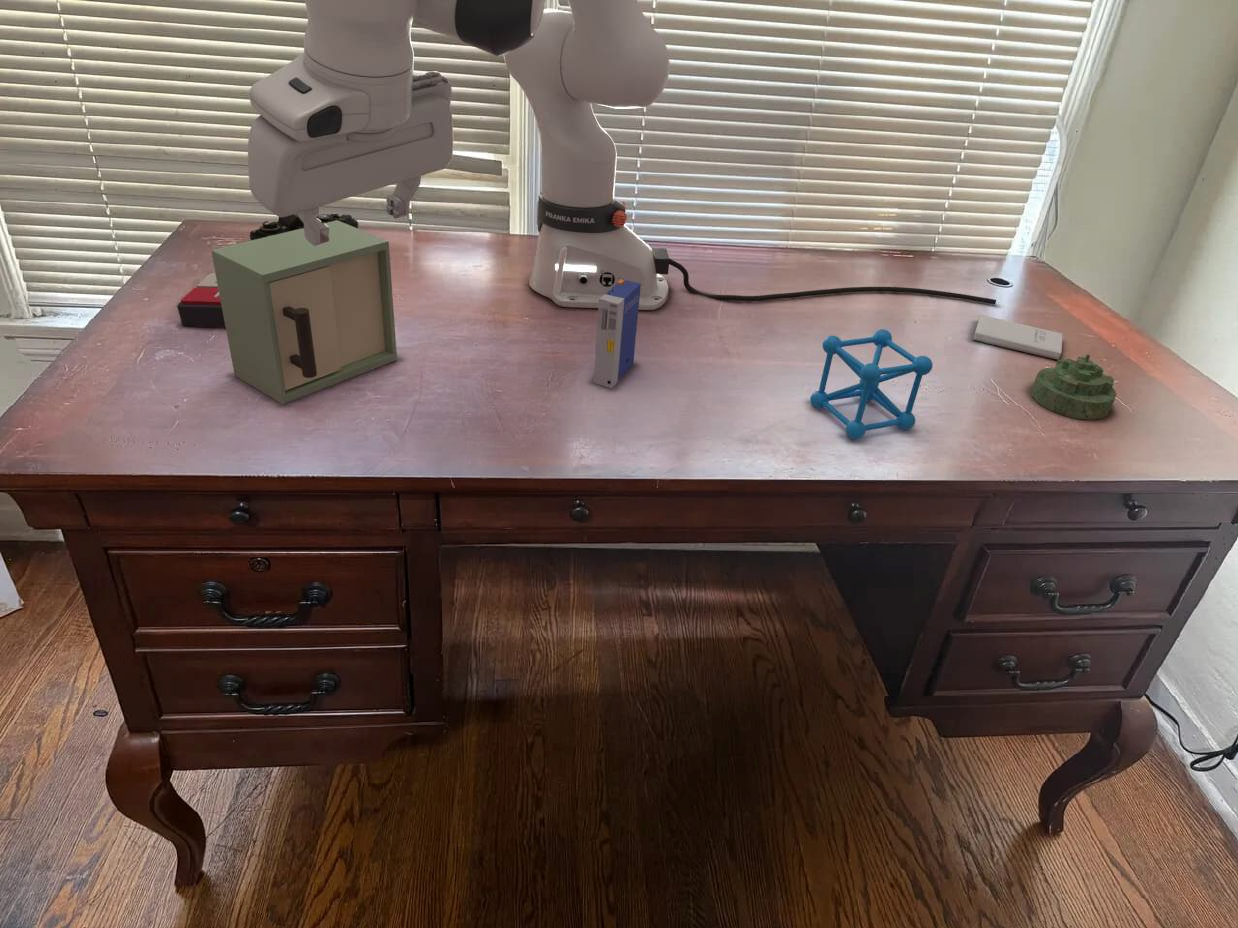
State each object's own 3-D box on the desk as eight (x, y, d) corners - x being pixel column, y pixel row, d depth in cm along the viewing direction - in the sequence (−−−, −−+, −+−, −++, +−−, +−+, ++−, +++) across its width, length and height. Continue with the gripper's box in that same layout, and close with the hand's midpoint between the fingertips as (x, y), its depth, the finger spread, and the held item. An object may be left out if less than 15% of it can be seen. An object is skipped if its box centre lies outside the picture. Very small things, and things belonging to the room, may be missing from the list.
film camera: (325, 245, 145) (318, 186, 140) (375, 265, 140) (370, 204, 134) (230, 272, 133) (218, 208, 127) (280, 295, 127) (270, 228, 122)
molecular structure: (851, 444, 104) (870, 370, 98) (805, 404, 111) (820, 333, 106) (916, 431, 108) (939, 359, 102) (867, 394, 115) (886, 325, 110)
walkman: (614, 360, 118) (621, 276, 111) (633, 364, 117) (641, 280, 111) (591, 383, 112) (597, 296, 105) (611, 388, 111) (618, 301, 104)
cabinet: (397, 360, 113) (388, 241, 104) (282, 404, 101) (262, 275, 93) (349, 335, 118) (337, 220, 109) (234, 375, 106) (210, 249, 98)
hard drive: (977, 322, 139) (1059, 341, 135) (972, 341, 133) (1058, 361, 129) (980, 313, 138) (1063, 331, 134) (975, 331, 132) (1062, 351, 128)
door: (361, 380, 105) (350, 275, 98) (304, 402, 100) (289, 293, 92) (338, 368, 107) (326, 264, 100) (282, 389, 102) (265, 281, 95)
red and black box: (206, 270, 123) (312, 273, 124) (213, 298, 126) (317, 301, 126) (173, 300, 114) (287, 303, 115) (182, 330, 117) (293, 333, 117)
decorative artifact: (1089, 387, 122) (1020, 381, 122) (1109, 342, 119) (1037, 335, 118) (1121, 422, 114) (1046, 416, 114) (1143, 375, 110) (1066, 368, 110)
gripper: (429, 54, 82) (421, 185, 91) (230, 91, 69) (245, 240, 79) (474, 83, 80) (461, 214, 89) (277, 127, 67) (287, 275, 77)
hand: (358, 227), depth 84 cm, fingers open, 8 cm apart
